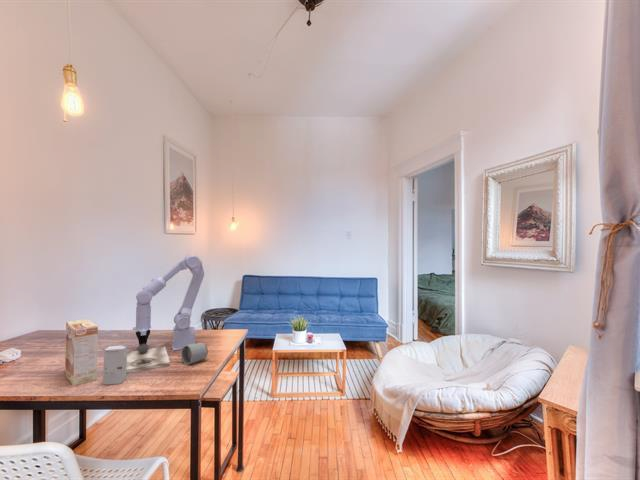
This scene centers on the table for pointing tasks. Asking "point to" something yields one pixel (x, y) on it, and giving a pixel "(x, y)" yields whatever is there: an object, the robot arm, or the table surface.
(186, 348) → the ceramic mug
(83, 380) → the coffeecake box
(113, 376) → the skincare box
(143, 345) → the ball
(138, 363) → the board
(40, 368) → the table surface
